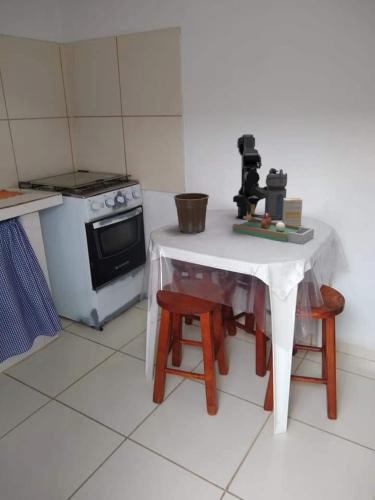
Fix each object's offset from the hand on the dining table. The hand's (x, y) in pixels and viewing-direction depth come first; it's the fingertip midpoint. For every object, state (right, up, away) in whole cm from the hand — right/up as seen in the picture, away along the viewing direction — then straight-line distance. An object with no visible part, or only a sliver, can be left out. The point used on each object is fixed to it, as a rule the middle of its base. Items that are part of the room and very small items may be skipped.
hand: (249, 214), depth 181 cm
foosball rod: (+3, -5, -1) cm, 6 cm away
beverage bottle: (+16, 0, +22) cm, 27 cm away
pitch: (+10, -9, -5) cm, 14 cm away
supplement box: (+21, -5, +7) cm, 23 cm away
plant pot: (-26, -7, +4) cm, 27 cm away
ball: (+12, -6, -9) cm, 16 cm away
